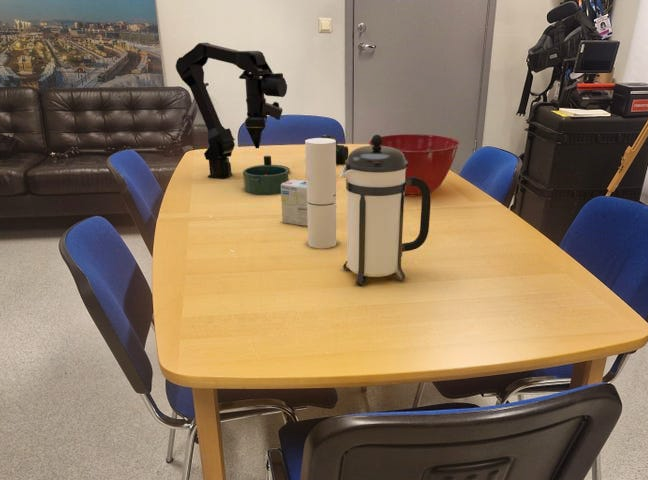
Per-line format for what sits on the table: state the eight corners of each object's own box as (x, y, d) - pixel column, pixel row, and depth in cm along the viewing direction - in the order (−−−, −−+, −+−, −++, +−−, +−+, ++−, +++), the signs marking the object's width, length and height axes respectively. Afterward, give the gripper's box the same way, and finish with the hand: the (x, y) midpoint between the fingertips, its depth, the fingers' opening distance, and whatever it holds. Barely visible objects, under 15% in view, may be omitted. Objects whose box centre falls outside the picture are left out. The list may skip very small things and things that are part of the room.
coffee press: (390, 294, 131) (396, 145, 116) (327, 278, 139) (325, 136, 124) (427, 268, 144) (436, 131, 129) (367, 255, 151) (370, 124, 137)
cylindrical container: (340, 241, 161) (340, 139, 148) (330, 249, 155) (329, 144, 142) (314, 237, 163) (312, 137, 150) (303, 246, 157) (300, 142, 144)
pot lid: (239, 175, 221) (238, 159, 218) (256, 166, 234) (255, 150, 231) (281, 178, 217) (280, 162, 215) (295, 169, 230) (294, 153, 228)
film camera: (347, 168, 232) (348, 140, 227) (314, 168, 232) (313, 140, 227) (348, 158, 247) (348, 131, 242) (317, 157, 247) (316, 131, 242)
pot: (234, 195, 198) (232, 176, 196) (257, 180, 215) (256, 162, 212) (277, 198, 195) (276, 179, 193) (297, 183, 212) (296, 165, 209)
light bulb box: (327, 221, 175) (326, 182, 170) (315, 228, 170) (314, 188, 164) (293, 216, 179) (291, 178, 174) (281, 222, 174) (279, 183, 168)
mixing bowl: (355, 196, 198) (355, 145, 190) (385, 176, 221) (386, 130, 213) (442, 206, 189) (446, 153, 181) (464, 184, 212) (468, 136, 204)
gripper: (280, 99, 193) (281, 151, 201) (281, 91, 209) (282, 140, 217) (243, 98, 192) (246, 151, 200) (247, 91, 208) (250, 140, 216)
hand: (258, 145), depth 208 cm, fingers open, 9 cm apart
